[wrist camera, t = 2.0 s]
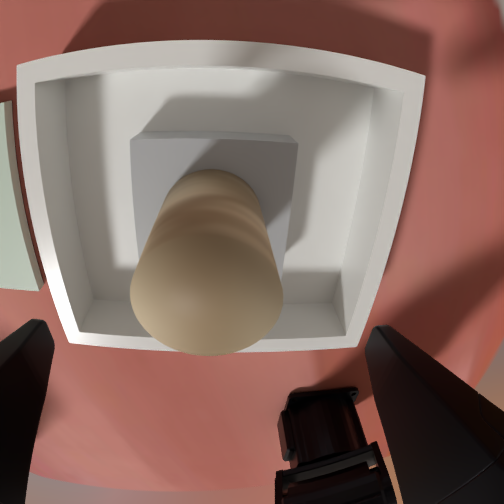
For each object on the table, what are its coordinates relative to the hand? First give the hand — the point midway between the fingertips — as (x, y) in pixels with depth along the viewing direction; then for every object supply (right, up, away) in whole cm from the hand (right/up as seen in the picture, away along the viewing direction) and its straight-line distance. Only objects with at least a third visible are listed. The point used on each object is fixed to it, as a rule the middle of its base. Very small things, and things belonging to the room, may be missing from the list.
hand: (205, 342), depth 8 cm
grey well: (-1, +5, +9) cm, 10 cm away
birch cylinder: (-1, +4, +6) cm, 7 cm away
